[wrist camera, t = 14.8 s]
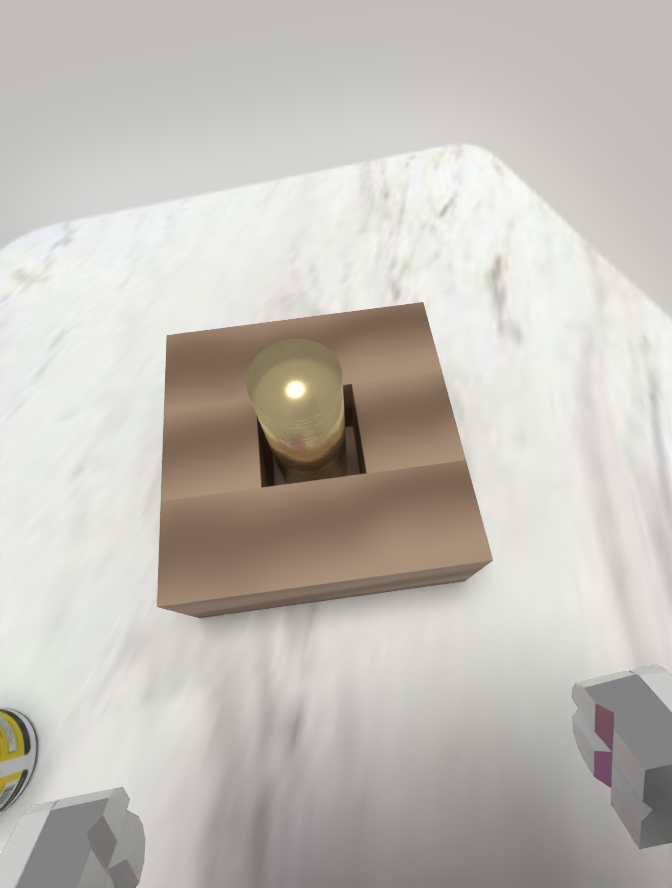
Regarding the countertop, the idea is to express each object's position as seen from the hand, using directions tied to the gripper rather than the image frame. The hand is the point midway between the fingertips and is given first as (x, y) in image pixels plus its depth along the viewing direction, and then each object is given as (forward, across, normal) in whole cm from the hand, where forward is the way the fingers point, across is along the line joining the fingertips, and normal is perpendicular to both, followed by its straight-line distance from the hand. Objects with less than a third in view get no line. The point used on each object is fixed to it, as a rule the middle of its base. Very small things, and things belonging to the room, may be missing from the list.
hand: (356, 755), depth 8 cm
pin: (+20, 0, +3) cm, 20 cm away
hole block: (+21, 0, +4) cm, 21 cm away
